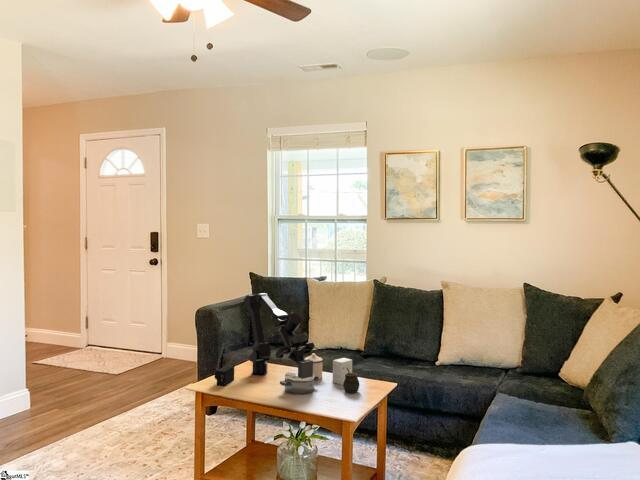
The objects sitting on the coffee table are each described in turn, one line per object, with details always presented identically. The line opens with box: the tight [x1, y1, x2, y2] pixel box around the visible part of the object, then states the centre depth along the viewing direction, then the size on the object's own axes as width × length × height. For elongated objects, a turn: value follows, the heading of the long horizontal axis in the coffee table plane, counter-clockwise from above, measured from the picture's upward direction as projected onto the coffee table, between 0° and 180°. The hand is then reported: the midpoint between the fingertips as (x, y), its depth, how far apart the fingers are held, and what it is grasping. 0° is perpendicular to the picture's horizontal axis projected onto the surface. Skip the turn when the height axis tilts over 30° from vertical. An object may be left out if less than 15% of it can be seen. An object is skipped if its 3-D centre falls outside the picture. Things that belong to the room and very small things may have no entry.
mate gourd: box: [342, 368, 360, 394], centre depth 244 cm, size 7×8×10 cm
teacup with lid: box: [304, 353, 324, 381], centre depth 265 cm, size 12×9×12 cm
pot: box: [279, 375, 319, 396], centre depth 245 cm, size 13×19×6 cm
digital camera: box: [214, 365, 235, 388], centre depth 254 cm, size 10×5×7 cm, turn 166°
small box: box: [332, 357, 353, 386], centre depth 258 cm, size 8×6×10 cm
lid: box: [284, 359, 315, 382], centre depth 244 cm, size 13×13×8 cm
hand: (303, 366), depth 243 cm, fingers closed, pressing on lid
